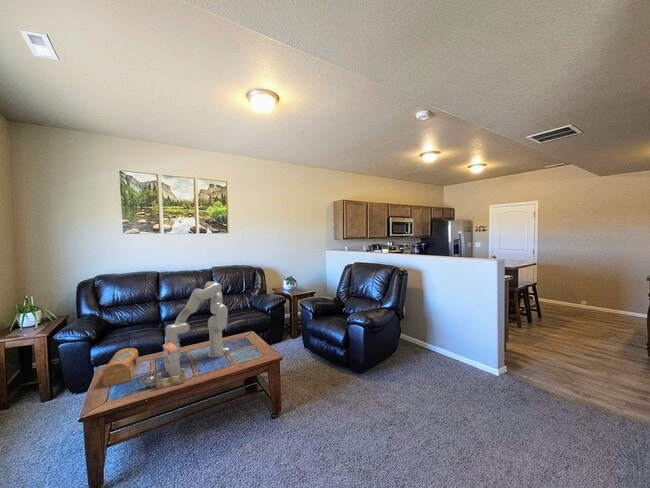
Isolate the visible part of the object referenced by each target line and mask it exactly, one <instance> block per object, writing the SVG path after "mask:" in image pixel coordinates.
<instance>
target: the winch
mask: <svg viewBox="0 0 650 488" xmlns="http://www.w3.org/2000/svg"><path fill="white" fill-rule="evenodd" d="M157 374H158V373H156V374H154V375H149V376H146V375H144V376H143V378H142V380H141V381H140V376H137V379H136V380H137V382H136V383H137V385H139V384H143V387H142V388H143V390H146V385H151V384H155V387H156V388H158V387H157Z"/></svg>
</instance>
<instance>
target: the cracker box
mask: <svg viewBox="0 0 650 488" xmlns="http://www.w3.org/2000/svg"><path fill="white" fill-rule="evenodd" d="M162 350H163V360H164V370H165V371H164V372H165V373H166V375H168V376H169V377H174V376H178V375H181V361H180V358H179V350H178V348H177V347H176V346H175V345H174V344H173V343H172V342H170V343H167V344H166V343H164V344H162ZM169 377H168V378H169Z"/></svg>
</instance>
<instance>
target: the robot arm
mask: <svg viewBox="0 0 650 488" xmlns="http://www.w3.org/2000/svg"><path fill="white" fill-rule="evenodd" d="M208 299H210V313H211V314H212V315H211V316H210V317H209V318H208V320H207V327H208V332H209V335H208V336H209V352H208V354H207V356H208V357H209V358H219V357H222V356H224V355H225V353H226V352H227V351H229V347H223V332H222V331H223V330H224V329H225V328H226V327H227V325H228V324H227V323H228V317H229V316H228V313H229V311H228V310H229V309H228V307H227V305H225V304H223V293H222V285H221V283H219V282H215V281H207V282H205V284H204V288H203V289H202V288H194V289H193V291H192V292H191V295H190V297H189V299H188V301H187V303H186V305H185V307H184V308H183V309H182V310H181V311H180V312H179V314H178V315H177V317H176V319H175V321H174V323H172V324H168V325H165V344H167V343H170V342H172V343H173V344H174V345H175V346H176V347H177V348H178V350H179V359H181V357H182V356H181V344H180V341H181V339H180V338H179V336H178V335H180V334H187V333H188V332H189V331H190V330H191V326H190V324H189V323H188V322H186V321H187V320H188V318H189V316H190V315H191V314H193V313H195V312H197V311H198V309H199V306H200V304H201V302H202V301H203V302H204V301H207V300H208Z"/></svg>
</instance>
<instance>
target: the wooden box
mask: <svg viewBox="0 0 650 488" xmlns="http://www.w3.org/2000/svg"><path fill="white" fill-rule="evenodd" d="M138 365H139V351H138V349H137V348H135V347H126V348H123V349H120V350H118V351H117V352H115V354H114V355H113V356H112V358H111V359H110V360H109V362H108V363H107V364H106V367H104V369H103V371H102V374H101V375H102V381H103V387H104V388H106V387H110V386H114V385H118V384H125V383H129V382H132V379H133V377H134V374H135V372H136V369H137V368H138Z"/></svg>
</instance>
